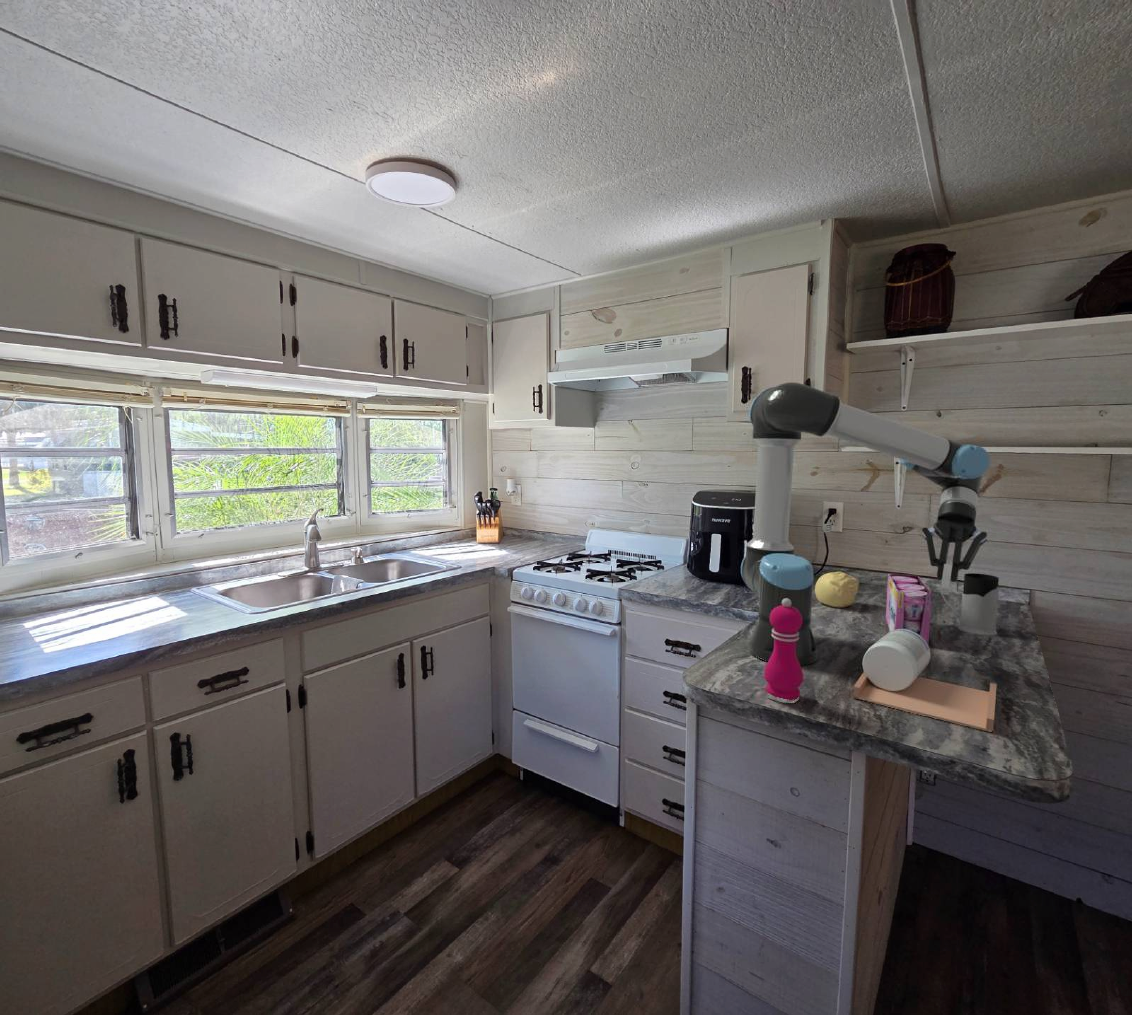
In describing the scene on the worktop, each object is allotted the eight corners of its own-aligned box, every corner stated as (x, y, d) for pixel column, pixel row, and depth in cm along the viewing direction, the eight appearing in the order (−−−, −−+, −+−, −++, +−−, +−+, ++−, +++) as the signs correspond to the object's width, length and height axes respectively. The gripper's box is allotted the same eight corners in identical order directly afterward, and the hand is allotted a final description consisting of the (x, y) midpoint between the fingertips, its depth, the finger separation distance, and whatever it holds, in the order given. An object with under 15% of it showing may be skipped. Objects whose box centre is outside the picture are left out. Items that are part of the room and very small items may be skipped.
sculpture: (844, 612, 170) (846, 577, 169) (807, 603, 180) (809, 570, 179) (863, 606, 177) (865, 572, 176) (826, 598, 186) (828, 566, 185)
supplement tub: (878, 628, 126) (857, 643, 116) (926, 627, 120) (908, 643, 109) (887, 671, 126) (866, 690, 115) (936, 673, 119) (918, 693, 109)
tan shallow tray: (872, 669, 125) (872, 658, 125) (995, 696, 112) (996, 684, 112) (853, 698, 111) (853, 686, 110) (992, 733, 97) (994, 719, 97)
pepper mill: (802, 707, 107) (807, 605, 105) (762, 701, 109) (766, 601, 107) (801, 692, 113) (806, 595, 111) (764, 687, 116) (767, 592, 114)
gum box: (930, 648, 139) (934, 594, 138) (893, 643, 142) (896, 591, 141) (916, 621, 161) (919, 575, 159) (884, 618, 164) (887, 572, 163)
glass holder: (989, 637, 147) (993, 581, 146) (930, 623, 159) (933, 571, 157) (1002, 631, 152) (1007, 577, 150) (944, 618, 164) (948, 568, 162)
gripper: (990, 521, 135) (981, 605, 124) (926, 517, 143) (912, 595, 132) (991, 501, 130) (981, 586, 119) (924, 498, 138) (909, 577, 127)
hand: (944, 591), depth 125 cm, fingers closed
